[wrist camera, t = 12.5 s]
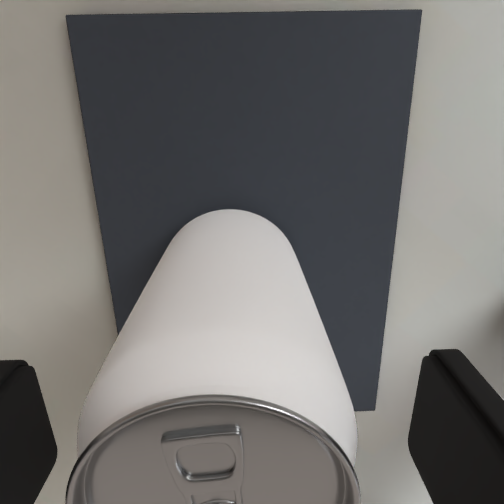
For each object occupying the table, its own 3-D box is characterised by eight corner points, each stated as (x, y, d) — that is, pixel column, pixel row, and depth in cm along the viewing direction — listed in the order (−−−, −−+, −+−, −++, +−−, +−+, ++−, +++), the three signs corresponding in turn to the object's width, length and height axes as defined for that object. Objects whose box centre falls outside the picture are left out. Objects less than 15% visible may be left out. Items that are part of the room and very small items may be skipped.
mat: (69, 17, 15) (64, 14, 15) (418, 11, 15) (422, 9, 15) (133, 414, 22) (131, 419, 21) (372, 405, 22) (375, 410, 22)
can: (177, 334, 20) (91, 633, 8) (152, 214, 17) (-13, 401, 6) (300, 320, 19) (382, 603, 8) (291, 198, 17) (386, 357, 6)
